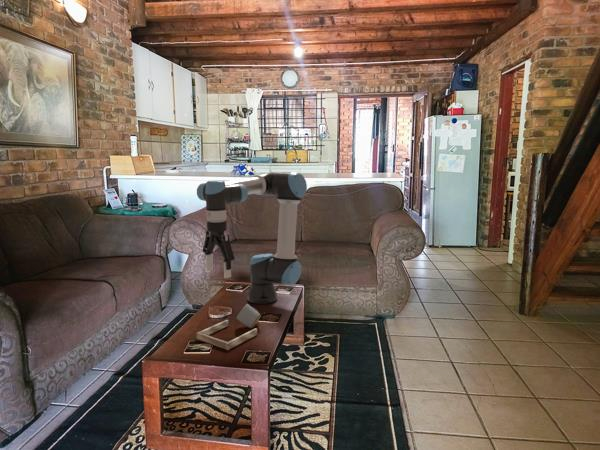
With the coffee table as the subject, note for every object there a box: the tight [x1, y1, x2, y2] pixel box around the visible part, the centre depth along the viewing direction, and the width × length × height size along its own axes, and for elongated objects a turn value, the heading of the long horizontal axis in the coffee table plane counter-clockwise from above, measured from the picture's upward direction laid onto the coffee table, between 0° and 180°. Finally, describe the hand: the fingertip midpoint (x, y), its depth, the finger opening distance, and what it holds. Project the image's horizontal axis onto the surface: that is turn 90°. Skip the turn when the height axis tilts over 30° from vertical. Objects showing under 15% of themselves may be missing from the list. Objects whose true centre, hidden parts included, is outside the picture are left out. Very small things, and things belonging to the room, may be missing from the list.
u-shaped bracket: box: [196, 319, 258, 351], centre depth 167 cm, size 17×17×2 cm
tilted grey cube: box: [236, 303, 262, 329], centre depth 177 cm, size 11×8×8 cm
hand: (218, 273), depth 164 cm, fingers open, 13 cm apart
